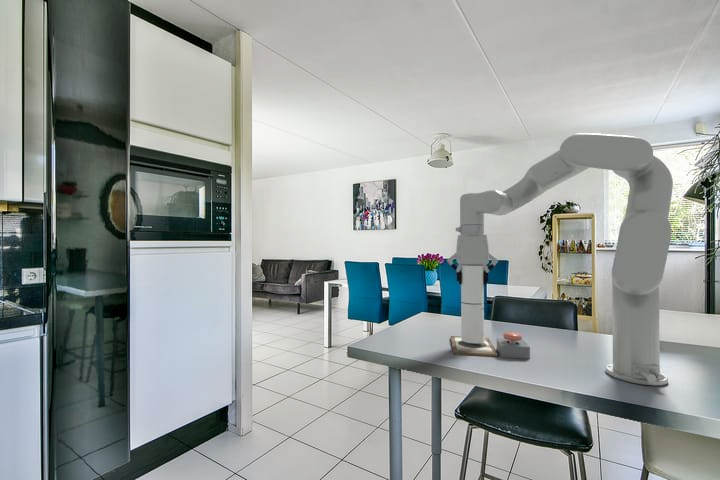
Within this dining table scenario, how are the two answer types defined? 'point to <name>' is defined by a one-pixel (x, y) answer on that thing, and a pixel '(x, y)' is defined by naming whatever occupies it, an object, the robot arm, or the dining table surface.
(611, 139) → the robot arm
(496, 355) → the sketch board
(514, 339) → the button
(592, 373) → the dining table surface
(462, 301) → the cylindrical container
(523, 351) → the button housing
